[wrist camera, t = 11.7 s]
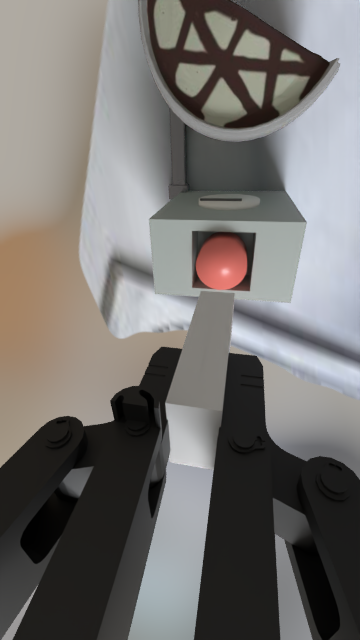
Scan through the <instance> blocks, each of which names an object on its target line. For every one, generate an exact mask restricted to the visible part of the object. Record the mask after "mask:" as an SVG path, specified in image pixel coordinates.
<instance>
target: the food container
mask: <svg viewBox="0 0 360 640" xmlns="http://www.w3.org/2000/svg"><path fill="white" fill-rule="evenodd" d="M138 4H139V22H140V30H141V38H142V42H143V46H144V50H145V54H146V58H147V62H148V64H149V67H150V70H151V73H152V75H153V78H154V80H155V83H156V85H157V87H158V89H159V91H160V93H161V94H162V96H163V98H164V100H165V101H166V103H167V104H168V105H169V107H170V108H171V109H172V111H173V112H174V113H175V114H176V115H177V116H178V117H179V118H180V119H181V120H182V121H183V122H184V123H185V124H186V125H188V126H189V127H191V128H192V129H194V130H195V131H197V132H199V133H201V134H203V135H205V136H207V137H210V138H213V139H217V140H222V141H233V142H240V141H248V140H254V139H257V138H260V137H264V136H267V135H269V134H271V133H273V132H275V131H277V130H279V129H281V128H283V127H285V126H286V125H288V124H289V123H291V122H292V121H294V120H295V119H296V118H298V117H299V116H300V115H301V114H302V113H303V112H305V111H306V110H307V109H308V108H309V107H310V106H311V105H312V104H313V103H314V102H315V101H316V100H317V99H318V97H319V96H320V95H321V94H322V93H323V92H324V90H325V89H326V88H327V87H328V85H329V84H330V82H331V81H332V79H333V78H334V76H335V75H336V73H337V72H338V70H339V67H340V63H338V60H339V58H337V59H335V60H332V61H330V62H328V61H327V60H325V59H323V58H322V57H321V56H320V55H318V54H315V53H313V52H311V51H309V50H308V49H306V48H304V47H303V46H301V45H299V44H298V43H296V42H295V41H293V40H292V39H290V38H288V37H287V36H285V35H284V34H282V33H281V32H279V31H277V30H276V29H274V28H273V27H271V26H270V25H268V24H267V23H265V22H264V21H262V20H261V19H259V18H258V17H256V16H255V15H253V14H252V13H250V12H249V11H247V10H246V9H244V8H243V7H241V6H239V5H237V4H235V3H234V2H232V1H230V0H138Z"/></svg>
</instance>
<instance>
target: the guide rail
mask: <svg viewBox="0 0 360 640" xmlns="http://www.w3.org/2000/svg"><path fill="white" fill-rule="evenodd" d="M170 127H171V155H172V182H173V184H171V185H169V199H173V198H174V197H175V196H177V195H178V194H179V193H187V192H188V191H189V184H186V144H185V123H184V122H183V121H182V120H181V119H180V118H179V117H178V116H177V115H176V114H175V113H174V112H173V111H172V109H171V108H170Z"/></svg>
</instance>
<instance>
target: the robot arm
mask: <svg viewBox="0 0 360 640" xmlns="http://www.w3.org/2000/svg"><path fill="white" fill-rule="evenodd" d="M234 296H235V293H226V292H211V291H201V292H200V295H199V299H198V302H197V305H196V308H195V311H194V314H193V317H192V321H191V324H190V327H189V330H188V333H187V336H186V340H185V343H184V346H183V349H178V348H169V347H161V348H160V349H159V350H158V351H157V352H156V353H154V354H153V356H152V358H151V360H150V362H149V366H148V367H147V369H146V371H145V375H144V376H143V378H142V381H141V383H140V385H139V386H132V387H128V388H125V389H123V390H121V391H120V392H118V393H116V394H115V395H114V397H113V398H112V399H111V406H112V411H113V415H114V421H112V422H108V423H104V424H98V425H90V426H83V424H82V422H81V421H80V420H78V419H77V418H75V417H70V416H64V417H58V418H56V419H53V420H51V421H49V422H48V423H46V424H45V425H44V426H42V427H41V428H40V429H39V430H38V431H37V432H36V433H35V434H34V435H33V436H32V437H31V438H30V439H29V440H28V441H27V442H26V443H25V444H24V445H23V446H22V447H21V448H20V449H19V450H18V451H17V452H16V453H15V454H14V455H13V456H12V457H11V458H10V459H9V460H8V461H7V462H6V463H5V464H4V465H3V466H2V467H1V468H0V640H1V639H2V637H3V636H4V635H5V633H6V631H7V630H8V628H9V627H10V626H11V624H12V623H13V621H14V619H15V618H16V617H17V615H18V614H19V612H20V611H21V609H22V608H23V606H24V605H25V603H26V602H27V600H28V599H29V597H30V596H31V594H32V593H33V591H34V590H35V588H36V587H37V585H38V584H39V585H38V587H37V589H36V591H35V593H34V595H33V598H32V600H31V602H30V604H29V606H28V608H27V610H26V612H25V615H24V617H23V619H22V621H21V623H20V625H19V627H18V629H17V632H16V634H15V636H14V638H13V640H127V639H128V635H129V631H130V627H131V623H132V619H133V615H134V611H135V606H136V602H137V598H138V594H139V590H140V586H141V582H142V578H143V574H144V569H145V566H146V561H147V557H148V553H149V549H150V545H151V541H152V537H153V533H154V528H155V524H156V520H157V516H158V512H159V508H160V503H161V499H162V495H163V491H164V487H165V483H166V466H167V462H168V458H169V455H170V462H172V463H177V464H182V465H188V466H194V467H199V468H204V469H210V470H214V472H213V482H212V489H211V498H210V507H209V516H208V524H207V533H206V541H205V551H204V559H203V567H202V576H201V584H200V593H199V602H198V610H197V619H196V627H195V636H194V640H280V626H279V607H278V588H277V569H276V552H275V534H276V535H278V536H279V537H281V538H283V539H284V540H285V544H286V547H287V551H288V554H289V558H290V561H291V565H292V568H293V572H294V575H295V579H296V582H297V586H298V589H299V593H300V596H301V600H302V604H303V607H304V610H305V614H306V617H307V621H308V625H309V628H310V632H311V635H312V639H313V640H360V480H359V478H358V477H357V476H356V474H355V473H354V472H353V471H352V470H351V469H350V468H348V467H347V466H346V465H345V464H343V463H341V462H339V461H337V460H335V459H332V458H328V457H321V456H319V457H315V458H311V459H310V460H308V461H304V460H302V459H300V458H298V457H296V456H294V455H292V454H289V453H288V452H286V451H284V450H283V449H281V448H280V447H279V446H277V445H276V444H275V443H274V442H273V440H272V439H271V438H270V436H269V434H268V432H267V429H266V422H265V401H264V380H263V366H262V364H261V362H260V361H259V359H258V357H257V356H252V355H242V354H233V353H230V344H231V332H232V320H233V308H234Z"/></svg>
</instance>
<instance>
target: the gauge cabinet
mask: <svg viewBox="0 0 360 640" xmlns="http://www.w3.org/2000/svg"><path fill="white" fill-rule="evenodd" d="M306 223H307V222H306V221H305V219H304V218H303V216H302V215H301V213H300V212H299V210H298V209H297V207H296V206H295V204H294V203H293V201H292V200H291V198H290V197H289V195H288V194H287V192H286V191H188V192H187V193H179V194H178V195H177V196H175V197H174V198H173V199H172V200H171V201H170V202H168V203H167V204H166V205H165V206H164V207H163V208H161V209H160V210H159V211H158V212H157V213H156V214H154V215H153V216H152V217H151V218H150V219H149V225H150V237H151V250H152V262H153V275H154V287H155V294H166V295H181V296H196V297H199V295H200V292H201V291H211V292H226V293H235V296H234V299H240V300H255V301H270V302H285V303H291V298H292V293H293V288H294V283H295V278H296V273H297V268H298V263H299V258H300V253H301V248H302V243H303V238H304V233H305V228H306ZM217 232H231V233H234V234H236V235H237V236H239V237H240V238H241V239H242V240H243V242H244V243H245V245H246V248H247V271H246V274H245V276H244V278H243V280H242V281H241V282H240V283H239V284H238V285H236V286H235V287H233V288H230V289H226V290H217V289H213V288H210V287H208V286H207V285H205V284H204V283H203V282H202V281H201V280H200V278H199V277H198V274H197V271H196V260H197V257H198V255H199V252H200V250H201V247H202V245H203V243H204V241H205V240H206V239H207V238H208V237H209V236H211V235H212V234H214V233H217Z"/></svg>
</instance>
